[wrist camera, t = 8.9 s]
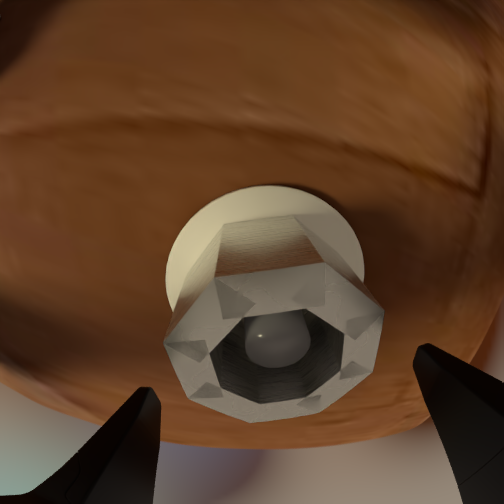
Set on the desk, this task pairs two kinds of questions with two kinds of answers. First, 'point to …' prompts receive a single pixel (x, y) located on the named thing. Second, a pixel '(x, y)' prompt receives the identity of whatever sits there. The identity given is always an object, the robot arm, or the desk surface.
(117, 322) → the desk surface
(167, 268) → the hub post
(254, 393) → the ring
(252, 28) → the desk surface
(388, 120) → the desk surface
